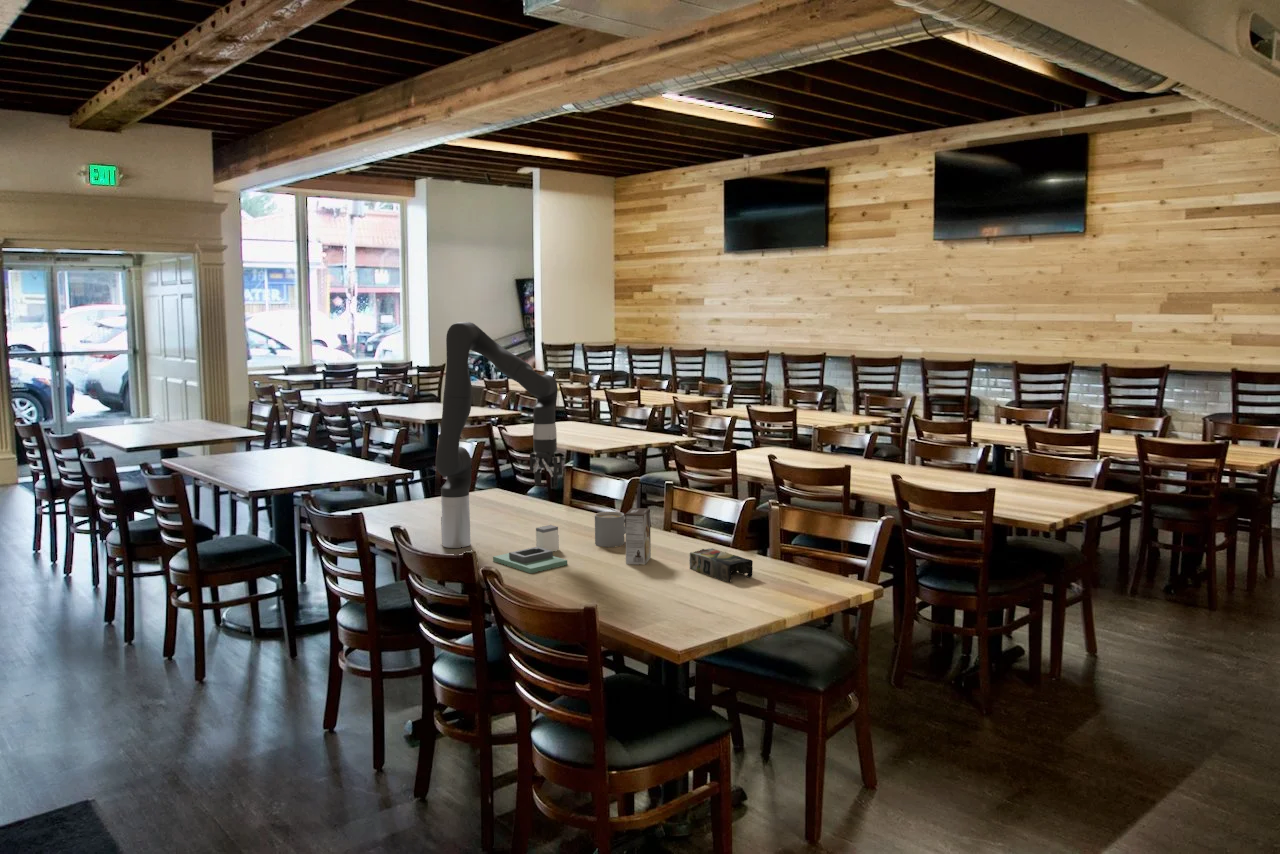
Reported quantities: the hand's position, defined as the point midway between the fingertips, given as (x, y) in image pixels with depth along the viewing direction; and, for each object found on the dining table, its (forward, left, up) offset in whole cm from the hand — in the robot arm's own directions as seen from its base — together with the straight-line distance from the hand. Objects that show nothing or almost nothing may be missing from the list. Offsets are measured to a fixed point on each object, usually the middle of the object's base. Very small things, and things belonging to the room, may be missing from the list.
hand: (546, 486), depth 317 cm
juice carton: (+57, +21, -22) cm, 65 cm away
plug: (0, 0, -22) cm, 22 cm away
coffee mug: (+7, +23, -22) cm, 33 cm away
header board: (+8, -13, -22) cm, 26 cm away
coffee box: (+30, +13, -22) cm, 39 cm away
